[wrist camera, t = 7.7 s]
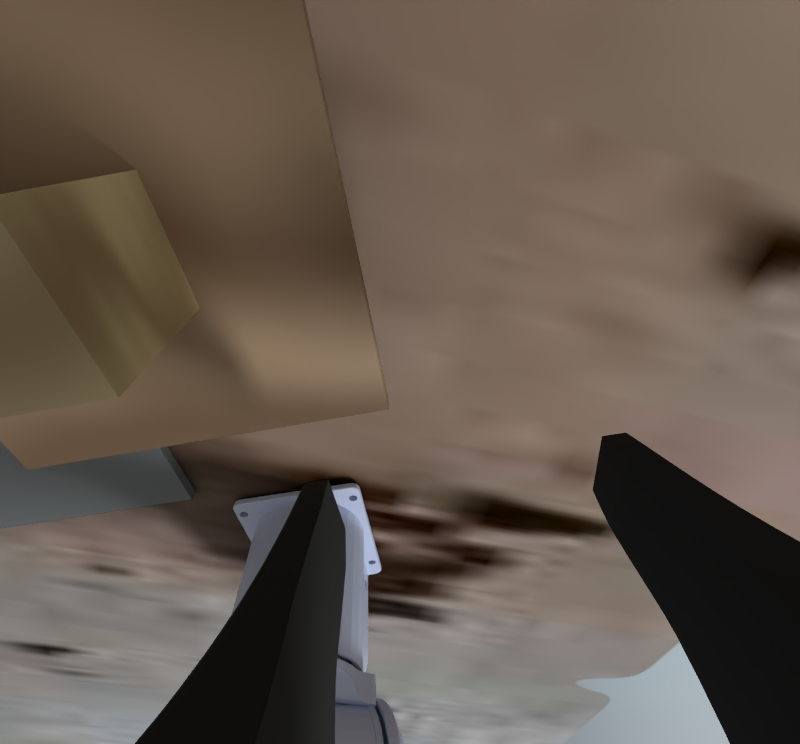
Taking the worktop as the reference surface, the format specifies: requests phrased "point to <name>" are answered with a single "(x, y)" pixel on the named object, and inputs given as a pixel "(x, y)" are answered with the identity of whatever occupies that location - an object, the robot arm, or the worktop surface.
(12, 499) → the mat
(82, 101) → the lid
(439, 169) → the worktop surface
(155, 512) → the worktop surface
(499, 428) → the worktop surface
